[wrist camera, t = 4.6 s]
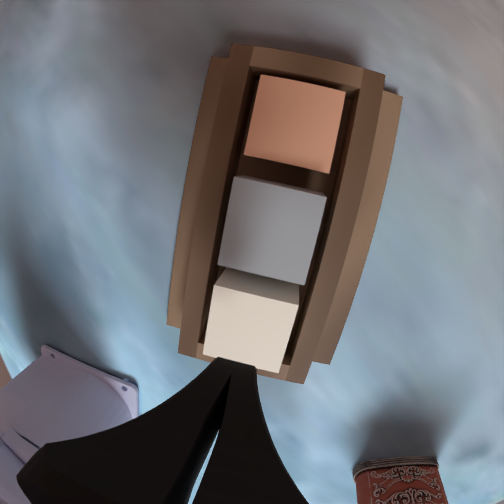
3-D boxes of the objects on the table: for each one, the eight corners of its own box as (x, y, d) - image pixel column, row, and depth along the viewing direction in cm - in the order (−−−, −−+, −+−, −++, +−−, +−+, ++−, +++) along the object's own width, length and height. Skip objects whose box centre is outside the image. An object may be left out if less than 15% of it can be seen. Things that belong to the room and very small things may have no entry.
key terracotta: (252, 156, 15) (243, 154, 13) (266, 87, 14) (260, 74, 12) (324, 172, 15) (329, 173, 13) (338, 103, 14) (345, 92, 12)
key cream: (214, 330, 17) (202, 354, 14) (226, 267, 16) (213, 284, 13) (281, 346, 16) (278, 373, 14) (299, 284, 15) (298, 305, 13)
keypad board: (170, 320, 19) (150, 343, 16) (214, 59, 15) (198, 40, 12) (329, 359, 18) (332, 389, 16) (399, 98, 14) (418, 86, 11)
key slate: (229, 249, 15) (217, 264, 13) (244, 175, 14) (233, 176, 12) (303, 267, 15) (304, 285, 13) (322, 192, 14) (327, 197, 12)
